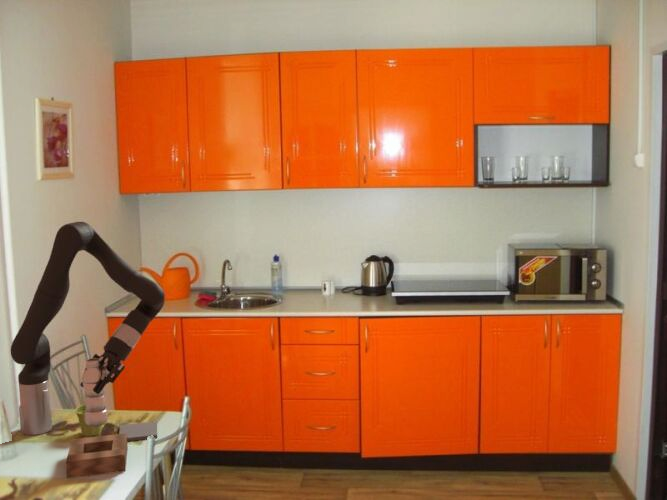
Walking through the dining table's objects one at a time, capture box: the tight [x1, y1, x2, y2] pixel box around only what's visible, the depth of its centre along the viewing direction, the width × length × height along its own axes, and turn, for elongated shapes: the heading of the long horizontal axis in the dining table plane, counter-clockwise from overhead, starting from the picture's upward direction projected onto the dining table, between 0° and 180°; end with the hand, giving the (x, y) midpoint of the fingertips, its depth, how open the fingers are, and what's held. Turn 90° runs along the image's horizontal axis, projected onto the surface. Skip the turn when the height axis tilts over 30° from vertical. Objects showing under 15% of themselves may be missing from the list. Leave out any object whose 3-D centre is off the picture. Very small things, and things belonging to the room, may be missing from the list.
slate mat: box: [118, 420, 158, 442], centre depth 224 cm, size 12×12×1 cm
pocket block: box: [65, 433, 129, 479], centre depth 201 cm, size 16×16×5 cm
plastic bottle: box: [81, 357, 109, 427], centre depth 199 cm, size 6×7×20 cm
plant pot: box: [74, 404, 103, 437], centre depth 223 cm, size 9×9×9 cm
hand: (89, 389), depth 198 cm, fingers closed on plastic bottle, 6 cm apart
